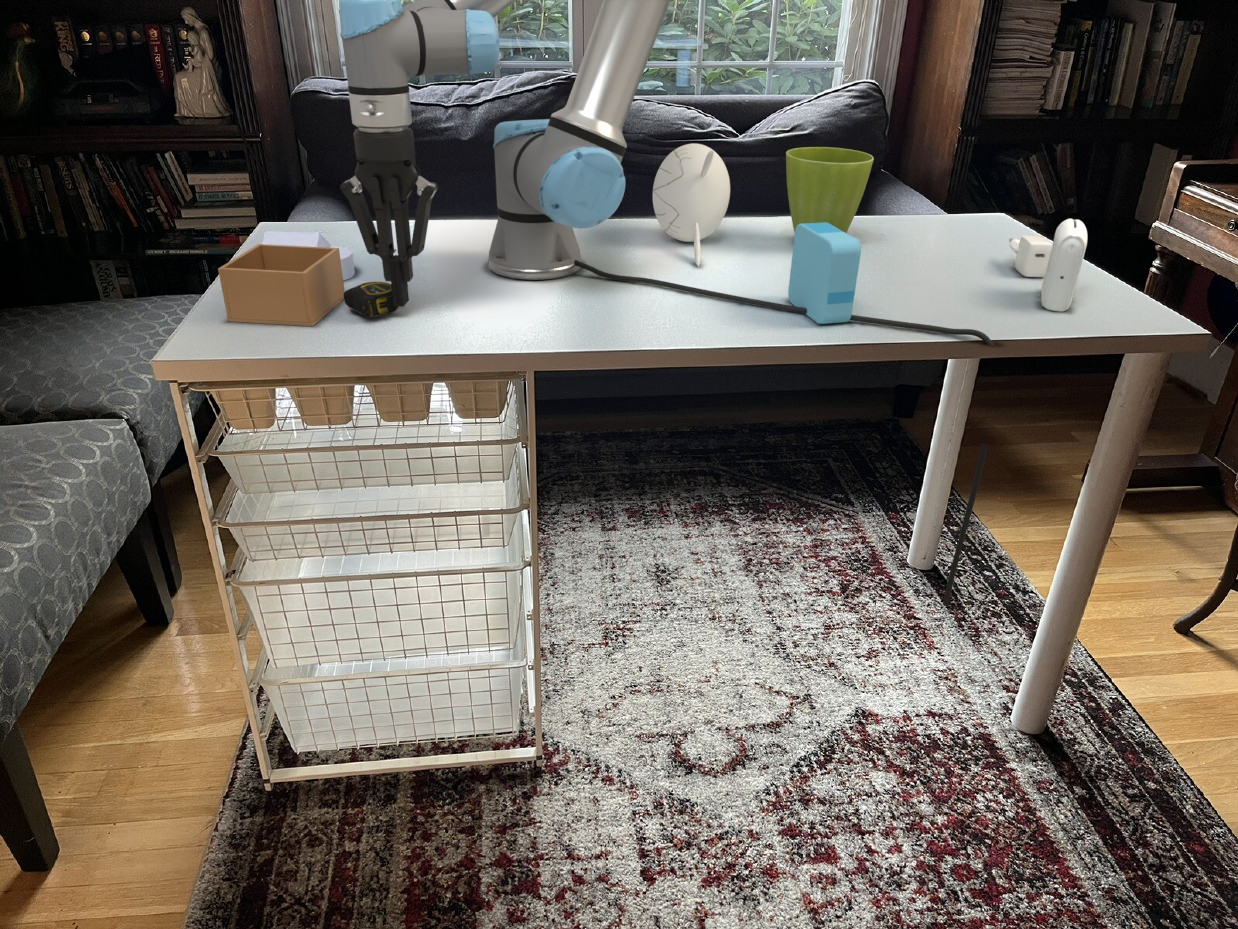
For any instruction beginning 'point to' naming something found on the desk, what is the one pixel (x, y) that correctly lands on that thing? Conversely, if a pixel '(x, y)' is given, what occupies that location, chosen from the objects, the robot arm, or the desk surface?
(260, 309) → the box
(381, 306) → the tape measure
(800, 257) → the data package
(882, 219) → the desk surface
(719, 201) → the cracked egg ornament
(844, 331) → the desk surface
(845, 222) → the flower pot
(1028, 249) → the power adapter
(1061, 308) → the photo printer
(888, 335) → the desk surface
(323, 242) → the wedge on round base
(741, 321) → the desk surface
